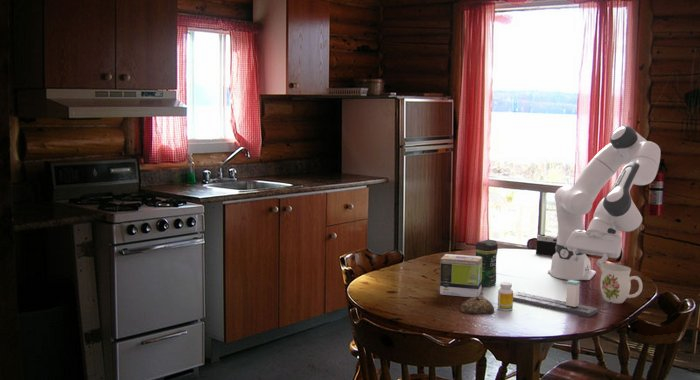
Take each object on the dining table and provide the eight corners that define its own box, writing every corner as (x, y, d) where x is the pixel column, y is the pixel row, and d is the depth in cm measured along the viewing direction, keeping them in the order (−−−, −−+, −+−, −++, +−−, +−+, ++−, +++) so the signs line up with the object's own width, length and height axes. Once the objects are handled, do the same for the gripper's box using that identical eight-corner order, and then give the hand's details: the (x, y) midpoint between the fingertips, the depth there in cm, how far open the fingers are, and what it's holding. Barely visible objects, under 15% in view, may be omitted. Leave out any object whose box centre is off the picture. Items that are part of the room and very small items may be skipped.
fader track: (517, 295, 286) (517, 291, 286) (597, 312, 265) (597, 308, 265) (507, 299, 280) (507, 295, 280) (588, 317, 259) (589, 312, 259)
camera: (569, 255, 358) (570, 235, 357) (561, 258, 351) (562, 238, 350) (542, 251, 367) (543, 232, 366) (534, 254, 360) (535, 234, 359)
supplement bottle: (494, 307, 269) (495, 282, 268) (507, 306, 271) (508, 280, 270) (502, 311, 264) (503, 286, 263) (515, 310, 266) (516, 284, 265)
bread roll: (494, 316, 260) (494, 302, 259) (459, 313, 262) (459, 300, 261) (494, 306, 272) (494, 293, 272) (460, 303, 275) (461, 291, 274)
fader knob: (569, 303, 270) (570, 279, 268) (578, 305, 267) (579, 281, 266) (565, 305, 267) (567, 281, 266) (574, 307, 265) (576, 282, 264)
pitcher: (636, 309, 270) (638, 273, 268) (588, 300, 281) (590, 265, 279) (645, 302, 279) (648, 267, 277) (598, 294, 290) (600, 260, 288)
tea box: (481, 292, 290) (483, 255, 288) (477, 299, 280) (479, 261, 278) (444, 288, 295) (445, 252, 293) (439, 294, 285) (440, 257, 283)
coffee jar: (486, 288, 296) (488, 243, 293) (470, 284, 301) (472, 240, 299) (499, 284, 303) (501, 240, 300) (483, 280, 308) (484, 237, 306)
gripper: (570, 224, 285) (558, 253, 279) (623, 231, 272) (611, 262, 266) (574, 234, 289) (562, 262, 283) (626, 241, 276) (615, 271, 270)
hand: (586, 262), depth 274 cm, fingers open, 8 cm apart
